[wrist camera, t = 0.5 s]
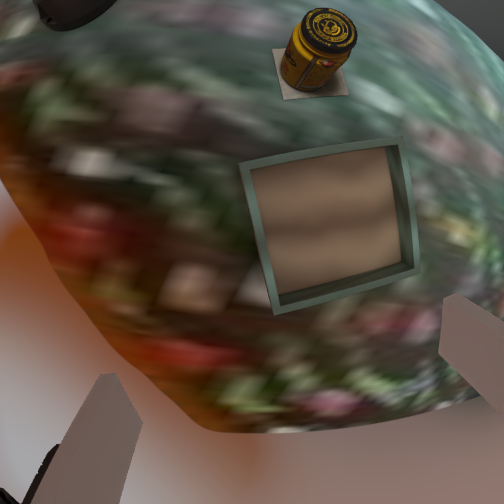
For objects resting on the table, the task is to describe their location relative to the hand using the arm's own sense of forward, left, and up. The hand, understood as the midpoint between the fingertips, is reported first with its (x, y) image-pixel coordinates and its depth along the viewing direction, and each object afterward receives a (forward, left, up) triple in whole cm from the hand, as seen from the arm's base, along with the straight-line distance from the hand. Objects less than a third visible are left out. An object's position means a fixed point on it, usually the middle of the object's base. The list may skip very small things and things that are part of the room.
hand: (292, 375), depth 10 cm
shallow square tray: (-1, +9, -26) cm, 28 cm away
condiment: (-19, +12, -27) cm, 35 cm away
